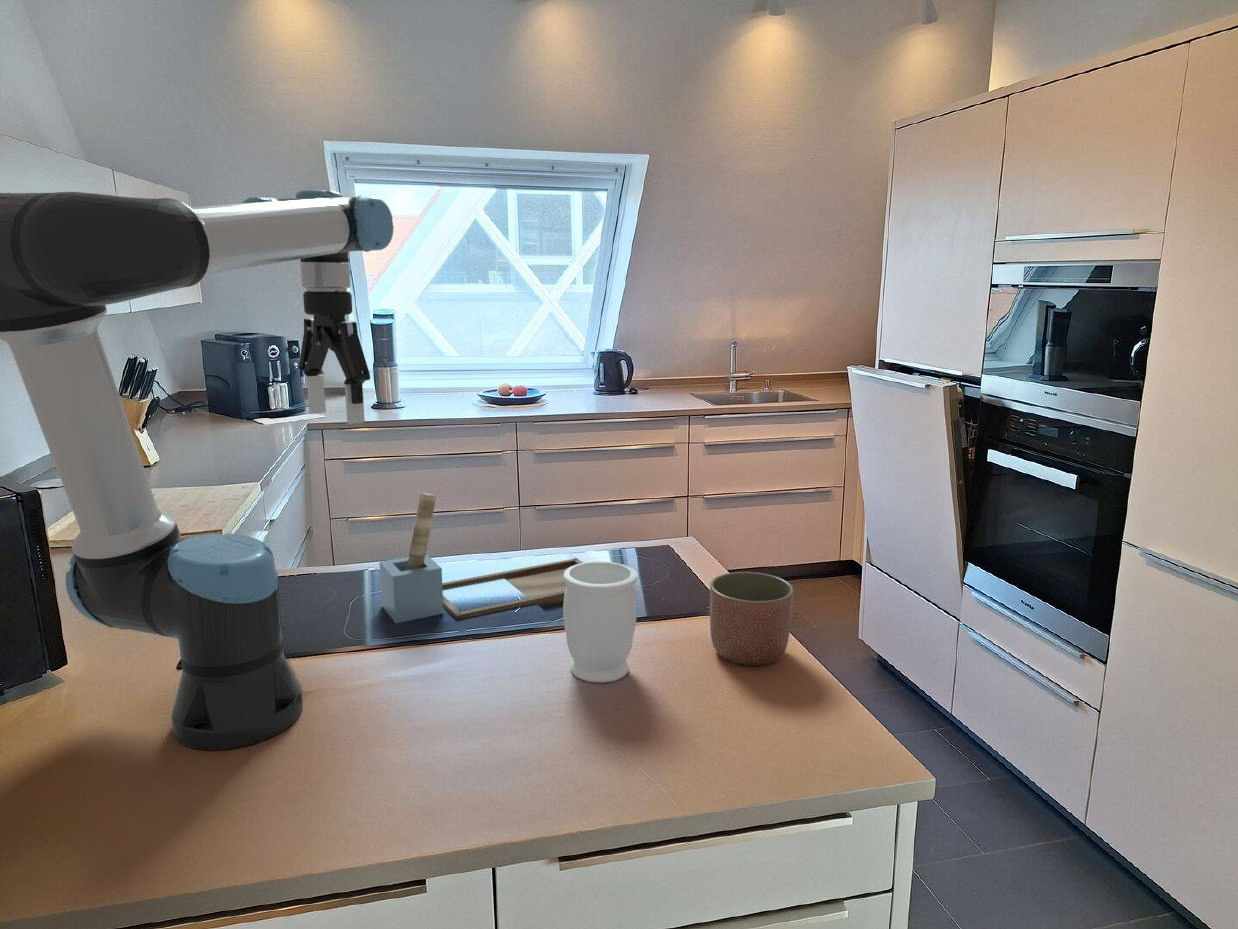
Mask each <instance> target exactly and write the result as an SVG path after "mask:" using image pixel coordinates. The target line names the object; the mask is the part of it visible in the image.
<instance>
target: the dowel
mask: <svg viewBox="0 0 1238 929" xmlns="http://www.w3.org/2000/svg"><path fill="white" fill-rule="evenodd" d="M436 500H437V495H436V494H435V493H434V494H433V493H429V492H420V494H419V500H418V505H417V510H416V514H415V515H416V516H415V521H414V527H413V532H412V536H411V542H410V549H409V554H408V557H409V558H408V564H407V569H406V570H412V569H418V568H423V566H424V560H425V555H426V554H427V549H428V543H429V539H430V538H429V537H430V533H431V528H432V523H433V516H434V510H435V507H436Z"/></svg>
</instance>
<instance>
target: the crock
mask: <svg viewBox="0 0 1238 929" xmlns="http://www.w3.org/2000/svg"><path fill="white" fill-rule="evenodd" d="M408 558H409V556H407V557H401V558H395V559H389V560H388V559H387V560H383V561H379V577H380V579H379V580H380V593H381V594H380V595H381V607H382V608H383V610H384V611H385V612H386V613H387V615H388V616H389V617H390V618H391V619H392V621H393V622H394V624H398V623H405V622H409V621H415V620H420V619H423V618H428V617H432V616H433V617H434V616H438V615H444V613H445V612H444V606H443V596H444V593H443V590H444V589H442V583H443V568H442V567H441V566H440V565H439V564H438V563H437V562H435V561H434V560H433V559H432V558H431V556H429V555H428V554H427V553H426V555H425V560H424V566H423V568H418V569H412V570H406V569H407V564H408Z"/></svg>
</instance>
